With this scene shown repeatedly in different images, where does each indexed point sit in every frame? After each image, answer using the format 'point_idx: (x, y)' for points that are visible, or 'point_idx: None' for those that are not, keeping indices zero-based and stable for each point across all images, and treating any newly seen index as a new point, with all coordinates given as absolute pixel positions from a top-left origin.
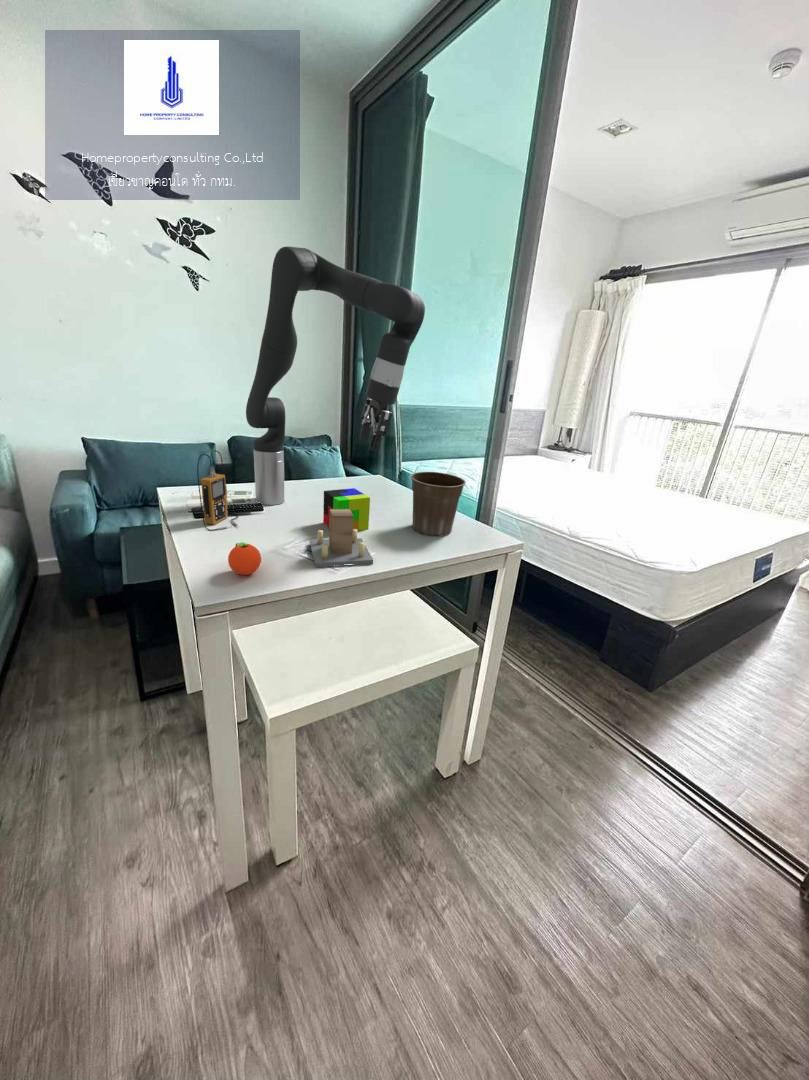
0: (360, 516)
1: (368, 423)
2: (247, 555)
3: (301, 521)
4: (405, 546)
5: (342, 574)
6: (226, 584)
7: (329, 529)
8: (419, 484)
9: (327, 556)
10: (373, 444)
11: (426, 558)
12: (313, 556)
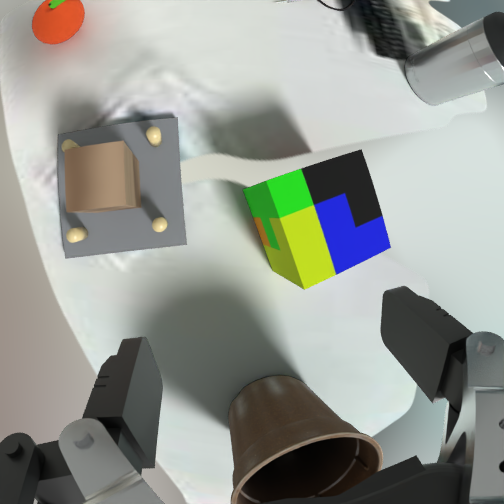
0: (275, 252)
1: (460, 396)
2: (33, 20)
3: (323, 114)
4: (165, 344)
5: (31, 190)
6: None
7: (132, 153)
8: (275, 450)
9: None
10: (98, 379)
11: None
12: (93, 128)
